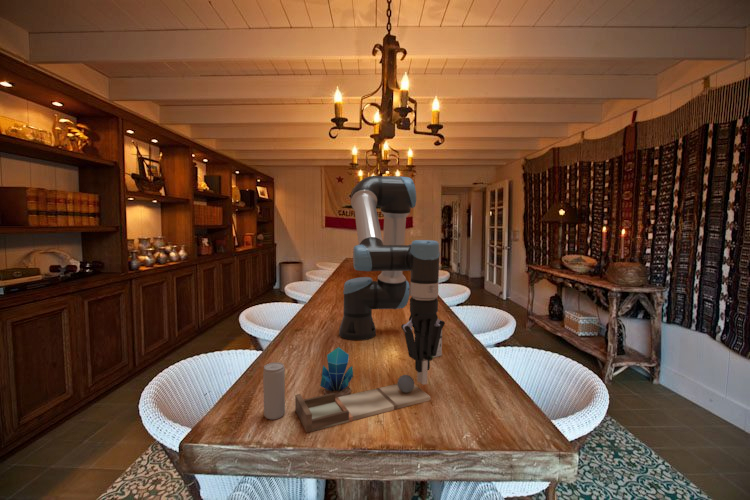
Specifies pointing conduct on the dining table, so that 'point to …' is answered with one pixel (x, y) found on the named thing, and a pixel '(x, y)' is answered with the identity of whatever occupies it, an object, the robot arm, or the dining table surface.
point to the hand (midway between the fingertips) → (422, 382)
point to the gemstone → (337, 374)
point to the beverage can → (274, 390)
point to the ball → (406, 383)
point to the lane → (353, 406)
